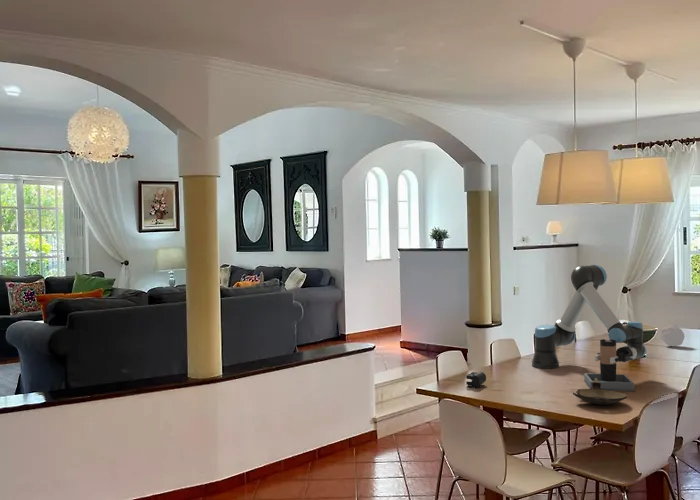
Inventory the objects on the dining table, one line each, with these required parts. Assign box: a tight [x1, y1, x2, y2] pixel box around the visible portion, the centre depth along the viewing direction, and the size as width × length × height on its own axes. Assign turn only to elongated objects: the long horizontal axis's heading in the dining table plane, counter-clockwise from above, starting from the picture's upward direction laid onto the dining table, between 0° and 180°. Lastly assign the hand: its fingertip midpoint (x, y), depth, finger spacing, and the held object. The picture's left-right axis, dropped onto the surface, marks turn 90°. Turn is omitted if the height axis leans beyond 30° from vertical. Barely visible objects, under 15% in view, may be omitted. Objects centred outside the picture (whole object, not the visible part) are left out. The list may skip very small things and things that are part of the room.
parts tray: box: [583, 372, 635, 392], centre depth 321 cm, size 20×20×4 cm
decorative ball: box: [659, 323, 685, 347], centre depth 429 cm, size 15×13×15 cm
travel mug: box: [599, 338, 617, 382], centre depth 321 cm, size 8×8×20 cm
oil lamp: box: [572, 378, 627, 406], centre depth 291 cm, size 22×30×8 cm
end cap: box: [465, 371, 487, 389], centre depth 325 cm, size 10×7×7 cm
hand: (603, 359), depth 318 cm, fingers closed on travel mug, 7 cm apart
